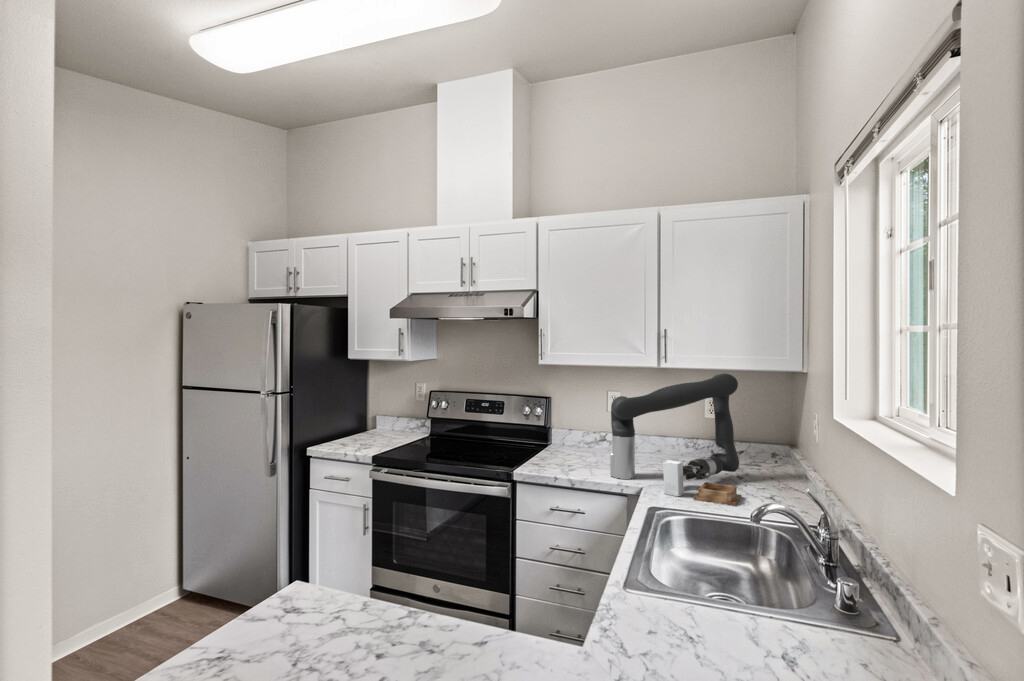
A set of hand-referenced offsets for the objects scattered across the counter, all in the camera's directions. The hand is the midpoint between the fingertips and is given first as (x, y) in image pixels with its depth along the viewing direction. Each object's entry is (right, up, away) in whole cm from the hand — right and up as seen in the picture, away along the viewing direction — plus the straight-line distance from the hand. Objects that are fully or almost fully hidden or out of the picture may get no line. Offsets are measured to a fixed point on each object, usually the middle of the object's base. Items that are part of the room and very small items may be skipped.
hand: (676, 474), depth 205 cm
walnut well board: (+13, -7, -7) cm, 16 cm away
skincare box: (-2, -7, -1) cm, 8 cm away
